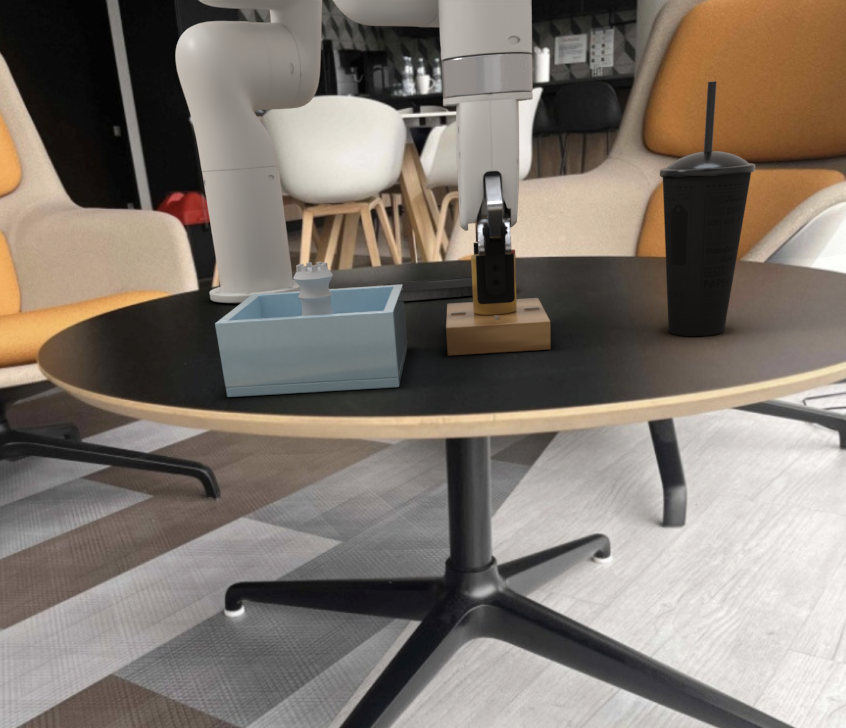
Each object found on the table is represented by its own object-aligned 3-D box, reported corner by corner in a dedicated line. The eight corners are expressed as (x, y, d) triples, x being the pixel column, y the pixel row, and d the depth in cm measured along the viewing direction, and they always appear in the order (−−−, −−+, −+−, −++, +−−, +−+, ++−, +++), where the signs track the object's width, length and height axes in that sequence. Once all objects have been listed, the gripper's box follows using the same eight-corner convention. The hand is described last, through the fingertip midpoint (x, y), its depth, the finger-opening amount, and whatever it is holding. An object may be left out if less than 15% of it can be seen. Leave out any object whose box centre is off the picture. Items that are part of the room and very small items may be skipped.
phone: (511, 282, 104) (385, 292, 103) (511, 292, 104) (386, 302, 103) (500, 273, 111) (382, 283, 110) (500, 283, 111) (383, 292, 110)
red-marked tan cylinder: (473, 316, 79) (470, 255, 77) (473, 308, 82) (470, 249, 80) (517, 313, 79) (516, 252, 76) (515, 305, 82) (514, 247, 80)
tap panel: (448, 328, 87) (446, 301, 86) (538, 323, 87) (538, 295, 86) (447, 356, 76) (445, 325, 75) (550, 349, 76) (550, 318, 75)
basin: (261, 358, 81) (252, 294, 78) (407, 349, 80) (402, 284, 78) (227, 397, 69) (214, 323, 66) (399, 387, 68) (392, 311, 65)
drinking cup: (746, 338, 75) (769, 75, 66) (654, 341, 76) (665, 83, 68) (736, 321, 81) (755, 79, 73) (651, 323, 83) (661, 87, 75)
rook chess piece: (323, 353, 77) (312, 259, 74) (360, 358, 74) (350, 261, 71) (285, 365, 74) (272, 267, 70) (322, 370, 71) (310, 269, 68)
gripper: (443, 91, 81) (453, 281, 88) (440, 81, 65) (452, 313, 72) (524, 85, 80) (527, 277, 88) (541, 73, 65) (543, 308, 72)
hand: (493, 293), depth 80 cm, fingers open, 9 cm apart
